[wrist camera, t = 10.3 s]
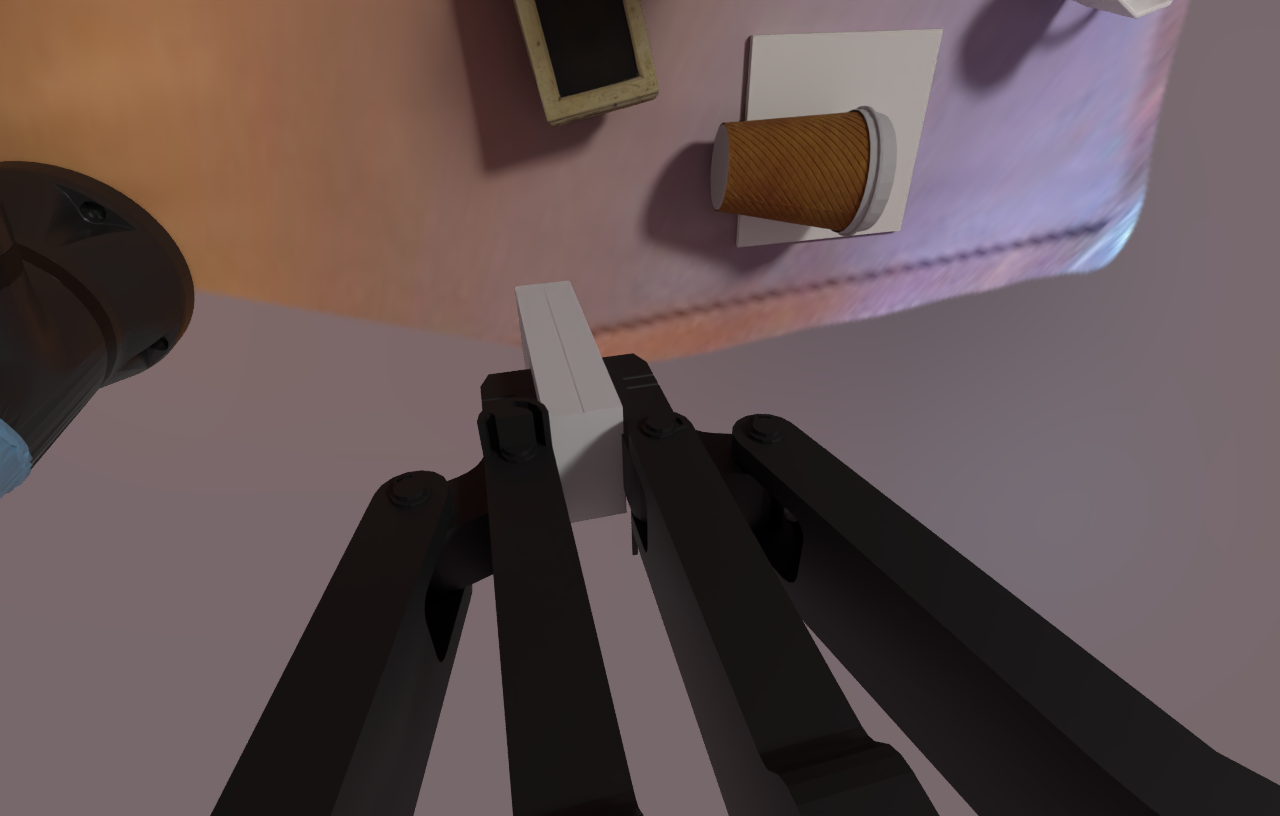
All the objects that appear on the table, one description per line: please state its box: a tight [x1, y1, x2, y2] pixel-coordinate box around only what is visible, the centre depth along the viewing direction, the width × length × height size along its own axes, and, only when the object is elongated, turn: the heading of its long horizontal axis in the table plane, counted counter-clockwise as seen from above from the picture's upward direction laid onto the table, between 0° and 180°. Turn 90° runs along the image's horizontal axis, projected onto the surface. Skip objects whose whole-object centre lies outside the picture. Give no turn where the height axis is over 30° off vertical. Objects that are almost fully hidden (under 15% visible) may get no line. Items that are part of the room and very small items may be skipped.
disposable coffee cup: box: [710, 106, 897, 237], centre depth 49 cm, size 10×10×12 cm
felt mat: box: [736, 29, 943, 248], centre depth 53 cm, size 16×16×1 cm
